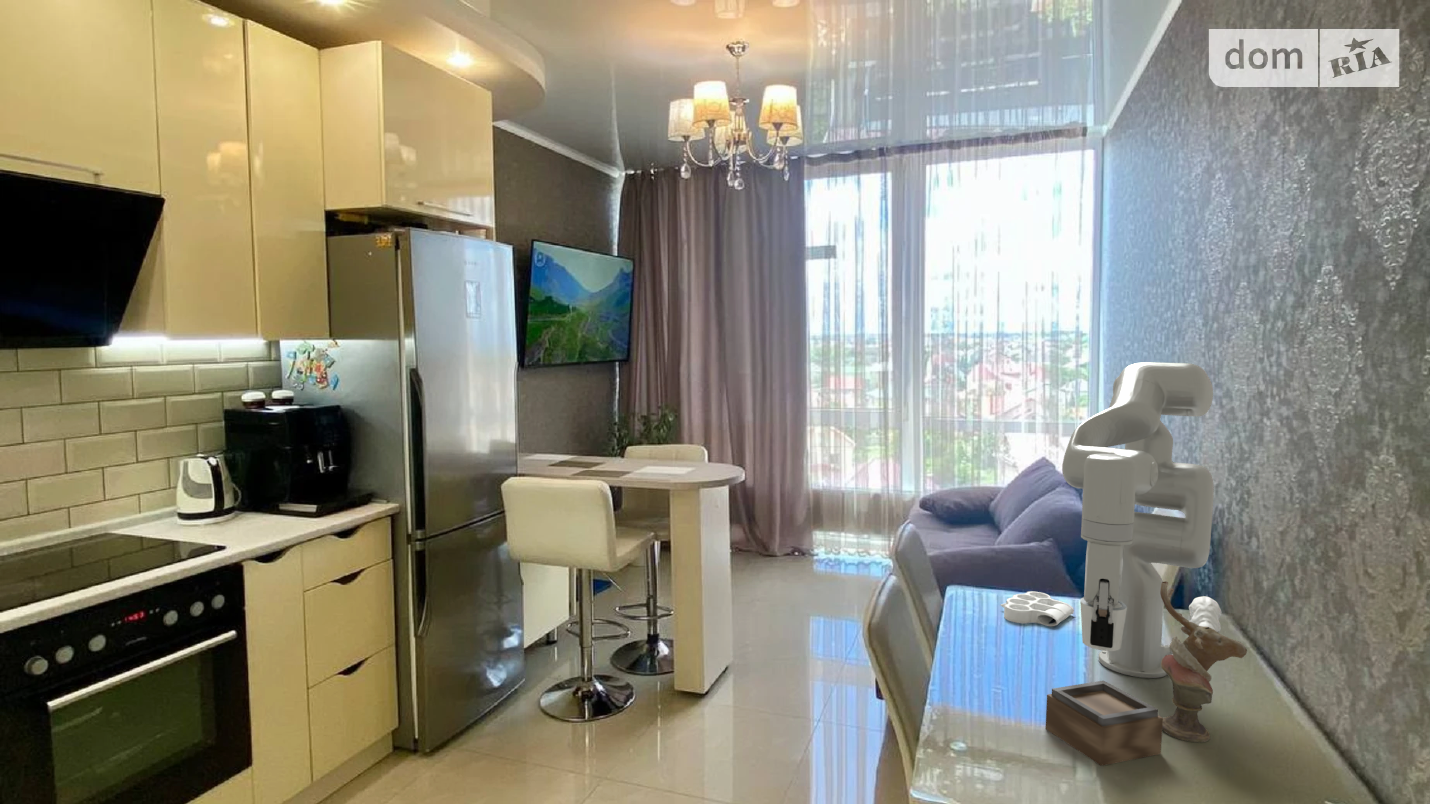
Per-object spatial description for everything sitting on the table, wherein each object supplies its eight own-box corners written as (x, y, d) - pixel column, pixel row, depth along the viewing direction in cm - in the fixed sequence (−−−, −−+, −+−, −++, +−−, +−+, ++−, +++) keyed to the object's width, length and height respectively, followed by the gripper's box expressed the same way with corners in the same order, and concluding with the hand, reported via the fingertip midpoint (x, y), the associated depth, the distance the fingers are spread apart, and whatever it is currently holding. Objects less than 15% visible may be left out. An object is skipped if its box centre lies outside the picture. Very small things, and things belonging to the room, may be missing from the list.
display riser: (1101, 718, 134) (1103, 678, 133) (1160, 753, 122) (1163, 710, 122) (1045, 728, 130) (1047, 687, 129) (1101, 765, 118) (1103, 720, 118)
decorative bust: (1262, 737, 125) (1242, 586, 125) (1198, 756, 122) (1178, 602, 122) (1206, 712, 136) (1187, 573, 136) (1146, 729, 133) (1126, 587, 133)
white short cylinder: (1130, 654, 121) (1132, 611, 121) (1083, 650, 123) (1085, 607, 122) (1117, 638, 128) (1120, 597, 127) (1073, 634, 129) (1075, 594, 129)
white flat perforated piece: (1051, 633, 175) (989, 617, 185) (1078, 614, 188) (1018, 600, 198) (1052, 619, 174) (989, 603, 184) (1078, 600, 188) (1019, 587, 198)
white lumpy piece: (1222, 596, 174) (1225, 616, 164) (1219, 631, 175) (1222, 654, 165) (1189, 591, 177) (1190, 611, 167) (1187, 626, 179) (1188, 647, 168)
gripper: (1083, 517, 133) (1078, 617, 135) (1078, 539, 118) (1073, 653, 119) (1132, 522, 130) (1127, 625, 131) (1134, 546, 114) (1128, 662, 116)
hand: (1101, 637), depth 125 cm, fingers closed on white short cylinder, 6 cm apart
